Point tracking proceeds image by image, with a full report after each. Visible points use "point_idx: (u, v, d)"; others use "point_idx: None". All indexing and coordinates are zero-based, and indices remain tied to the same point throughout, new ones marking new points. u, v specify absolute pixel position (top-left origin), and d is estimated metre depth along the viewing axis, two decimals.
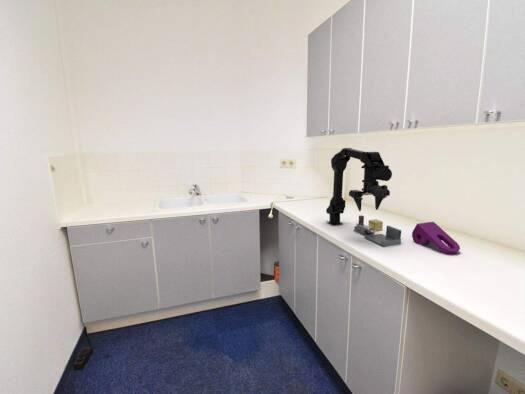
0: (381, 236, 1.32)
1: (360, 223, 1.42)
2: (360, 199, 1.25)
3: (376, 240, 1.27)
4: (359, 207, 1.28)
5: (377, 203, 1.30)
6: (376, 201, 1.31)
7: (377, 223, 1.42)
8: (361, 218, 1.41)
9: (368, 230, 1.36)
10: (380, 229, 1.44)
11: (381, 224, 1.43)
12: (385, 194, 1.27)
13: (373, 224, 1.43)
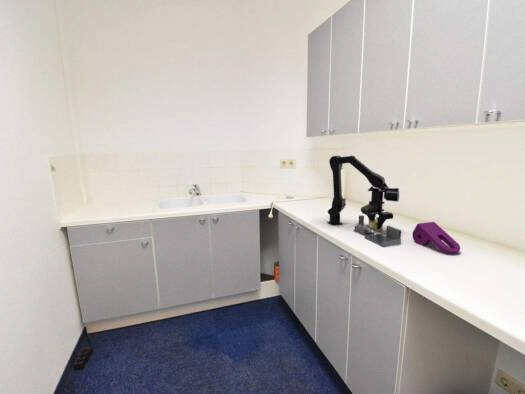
0: (381, 236, 1.32)
1: (360, 223, 1.42)
2: None
3: (376, 240, 1.27)
4: None
5: None
6: None
7: (377, 223, 1.42)
8: (361, 218, 1.41)
9: (368, 230, 1.36)
10: (380, 229, 1.44)
11: None
12: (380, 217, 1.37)
13: (373, 224, 1.43)
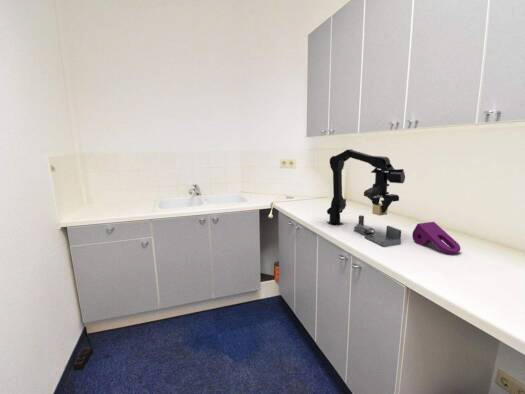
0: (381, 236, 1.32)
1: (360, 223, 1.42)
2: (370, 199, 1.40)
3: (376, 240, 1.27)
4: None
5: None
6: None
7: None
8: (361, 218, 1.41)
9: (368, 230, 1.36)
10: (385, 213, 1.36)
11: None
12: (385, 199, 1.29)
13: (378, 208, 1.35)
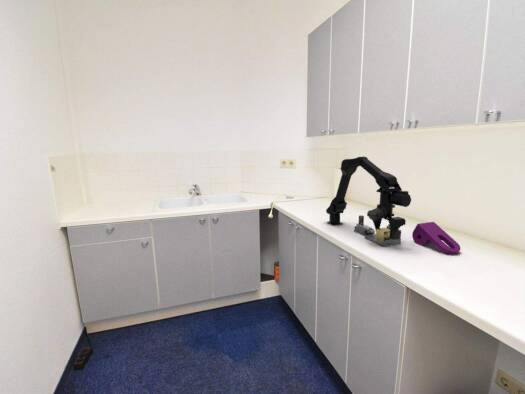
0: None
1: (360, 223, 1.42)
2: (371, 219, 1.31)
3: (376, 240, 1.27)
4: (375, 227, 1.31)
5: None
6: None
7: (386, 232, 1.24)
8: (361, 218, 1.41)
9: (368, 230, 1.36)
10: (390, 239, 1.25)
11: None
12: (390, 223, 1.18)
13: (382, 233, 1.25)
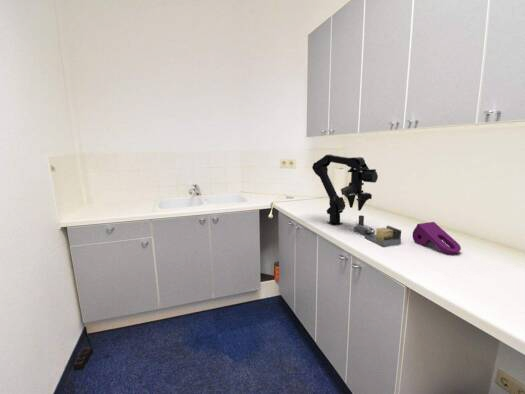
0: None
1: (360, 223, 1.42)
2: (346, 196, 1.49)
3: (376, 240, 1.27)
4: (349, 204, 1.50)
5: None
6: None
7: (386, 232, 1.24)
8: (361, 218, 1.41)
9: (368, 230, 1.36)
10: (390, 239, 1.25)
11: (391, 233, 1.25)
12: (358, 197, 1.38)
13: (382, 233, 1.25)
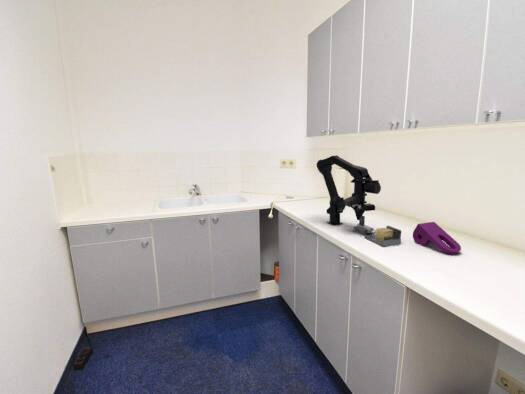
0: None
1: (361, 223, 1.41)
2: (353, 208, 1.45)
3: (376, 240, 1.27)
4: (356, 216, 1.45)
5: None
6: None
7: (386, 232, 1.24)
8: (362, 218, 1.41)
9: (369, 230, 1.36)
10: (390, 239, 1.25)
11: (391, 233, 1.25)
12: (362, 208, 1.36)
13: (382, 233, 1.25)
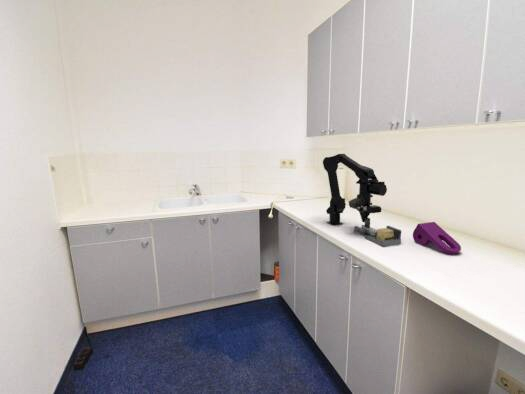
0: None
1: (366, 226, 1.37)
2: (358, 210, 1.40)
3: (376, 240, 1.27)
4: (361, 218, 1.41)
5: None
6: None
7: (387, 233, 1.24)
8: (367, 220, 1.37)
9: (375, 233, 1.32)
10: None
11: (392, 234, 1.25)
12: (367, 210, 1.32)
13: (383, 234, 1.24)
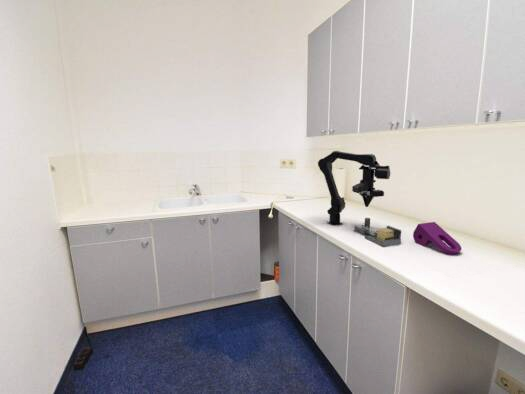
0: None
1: (366, 226, 1.37)
2: (361, 195, 1.45)
3: (376, 240, 1.27)
4: (364, 202, 1.45)
5: None
6: None
7: (387, 233, 1.24)
8: (367, 220, 1.36)
9: (375, 233, 1.32)
10: None
11: (392, 234, 1.25)
12: (371, 194, 1.36)
13: (383, 234, 1.24)
